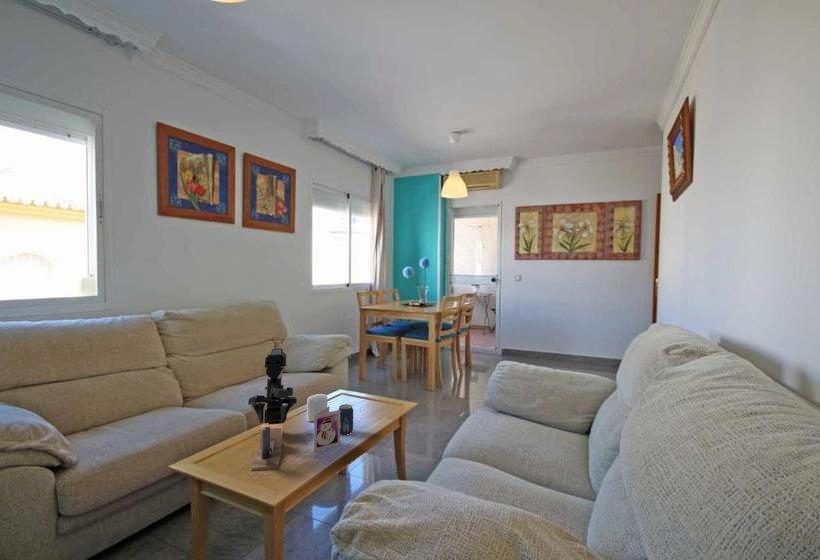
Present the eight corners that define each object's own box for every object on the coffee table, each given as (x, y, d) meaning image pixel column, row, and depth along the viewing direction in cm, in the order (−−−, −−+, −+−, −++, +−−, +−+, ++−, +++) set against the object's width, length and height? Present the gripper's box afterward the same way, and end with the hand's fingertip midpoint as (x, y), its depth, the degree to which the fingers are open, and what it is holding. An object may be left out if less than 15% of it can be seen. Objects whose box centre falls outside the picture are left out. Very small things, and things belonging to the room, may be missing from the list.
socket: (261, 443, 157) (262, 424, 157) (282, 442, 159) (282, 423, 159) (260, 448, 153) (260, 429, 153) (280, 447, 154) (281, 427, 154)
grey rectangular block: (264, 449, 152) (264, 439, 152) (275, 448, 153) (275, 438, 153) (261, 459, 144) (261, 448, 144) (272, 458, 145) (273, 447, 145)
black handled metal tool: (268, 443, 156) (268, 413, 156) (275, 442, 157) (275, 413, 156) (261, 462, 140) (261, 430, 140) (269, 462, 141) (269, 429, 140)
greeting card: (314, 452, 152) (315, 416, 152) (307, 445, 158) (308, 410, 158) (340, 445, 159) (341, 410, 159) (333, 439, 165) (333, 405, 165)
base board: (260, 445, 157) (260, 443, 157) (283, 444, 159) (283, 441, 159) (251, 470, 138) (251, 467, 138) (277, 468, 140) (277, 465, 140)
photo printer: (325, 415, 192) (325, 391, 191) (328, 418, 188) (328, 394, 188) (305, 420, 186) (305, 395, 186) (308, 423, 182) (308, 397, 182)
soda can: (347, 428, 177) (347, 402, 177) (356, 432, 172) (356, 406, 172) (334, 432, 172) (335, 406, 172) (343, 437, 167) (344, 410, 167)
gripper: (263, 377, 146) (261, 420, 139) (304, 381, 159) (304, 420, 153) (249, 383, 152) (245, 424, 146) (289, 386, 166) (288, 424, 159)
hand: (272, 423), depth 151 cm, fingers open, 9 cm apart
